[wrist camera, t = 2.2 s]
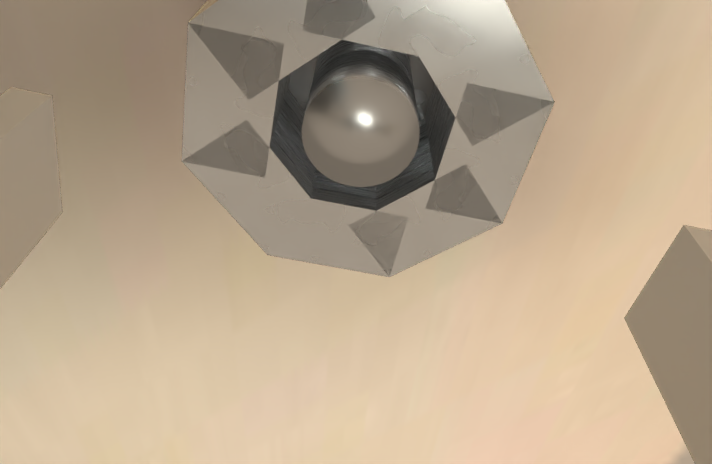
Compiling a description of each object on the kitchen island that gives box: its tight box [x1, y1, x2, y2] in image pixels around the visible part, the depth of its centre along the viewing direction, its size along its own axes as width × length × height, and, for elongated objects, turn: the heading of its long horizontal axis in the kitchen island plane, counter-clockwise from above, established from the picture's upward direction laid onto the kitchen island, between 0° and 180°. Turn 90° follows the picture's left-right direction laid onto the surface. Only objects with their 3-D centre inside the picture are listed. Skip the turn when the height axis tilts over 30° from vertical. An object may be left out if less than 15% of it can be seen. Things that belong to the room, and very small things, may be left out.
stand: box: [288, 40, 435, 187], centre depth 19 cm, size 6×6×9 cm
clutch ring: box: [182, 0, 555, 277], centre depth 17 cm, size 9×9×4 cm
